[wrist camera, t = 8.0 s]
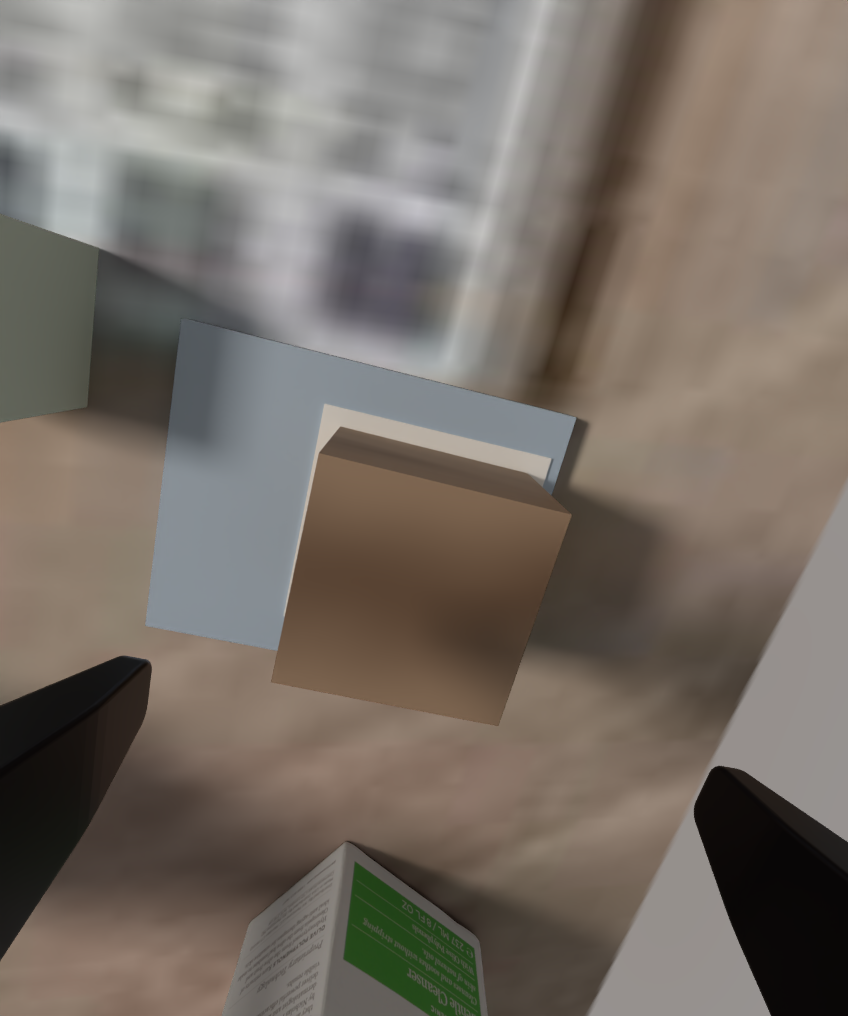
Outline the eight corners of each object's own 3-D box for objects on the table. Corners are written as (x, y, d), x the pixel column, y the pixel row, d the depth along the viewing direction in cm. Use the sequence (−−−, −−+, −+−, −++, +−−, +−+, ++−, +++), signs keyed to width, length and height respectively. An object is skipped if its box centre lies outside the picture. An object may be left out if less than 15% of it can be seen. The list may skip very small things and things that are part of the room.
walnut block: (475, 638, 18) (498, 726, 14) (302, 601, 18) (271, 682, 13) (527, 473, 17) (572, 514, 12) (340, 426, 16) (318, 452, 12)
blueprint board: (486, 680, 20) (489, 692, 19) (153, 617, 18) (143, 627, 18) (570, 415, 17) (577, 417, 16) (189, 319, 16) (180, 317, 15)
